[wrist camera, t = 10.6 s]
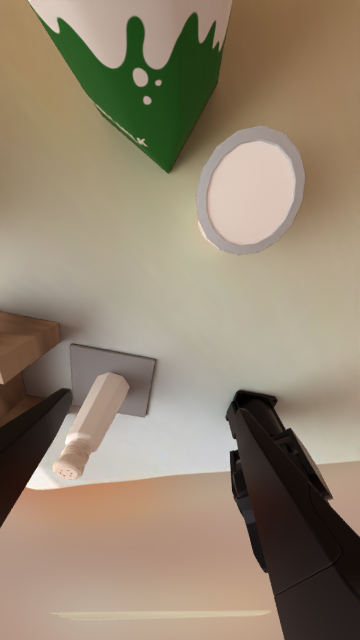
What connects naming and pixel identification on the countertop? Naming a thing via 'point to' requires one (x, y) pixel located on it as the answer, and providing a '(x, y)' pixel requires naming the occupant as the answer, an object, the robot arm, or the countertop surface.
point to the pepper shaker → (91, 424)
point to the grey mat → (99, 362)
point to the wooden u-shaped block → (21, 359)
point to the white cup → (250, 190)
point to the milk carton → (142, 62)
